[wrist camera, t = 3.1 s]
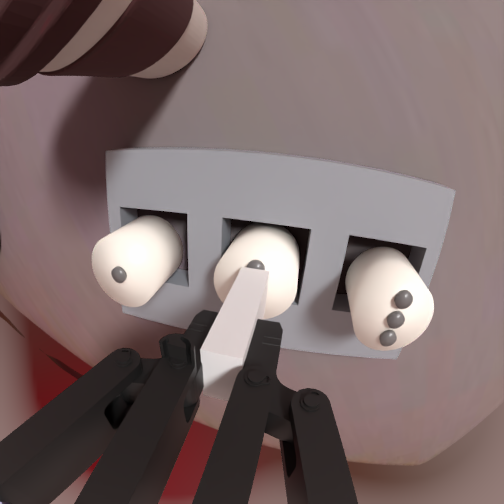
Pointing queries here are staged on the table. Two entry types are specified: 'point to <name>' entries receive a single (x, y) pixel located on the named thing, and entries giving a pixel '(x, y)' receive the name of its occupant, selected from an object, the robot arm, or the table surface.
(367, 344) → the button
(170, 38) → the coffee cup
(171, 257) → the button
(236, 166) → the console
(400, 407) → the table surface
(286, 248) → the button
